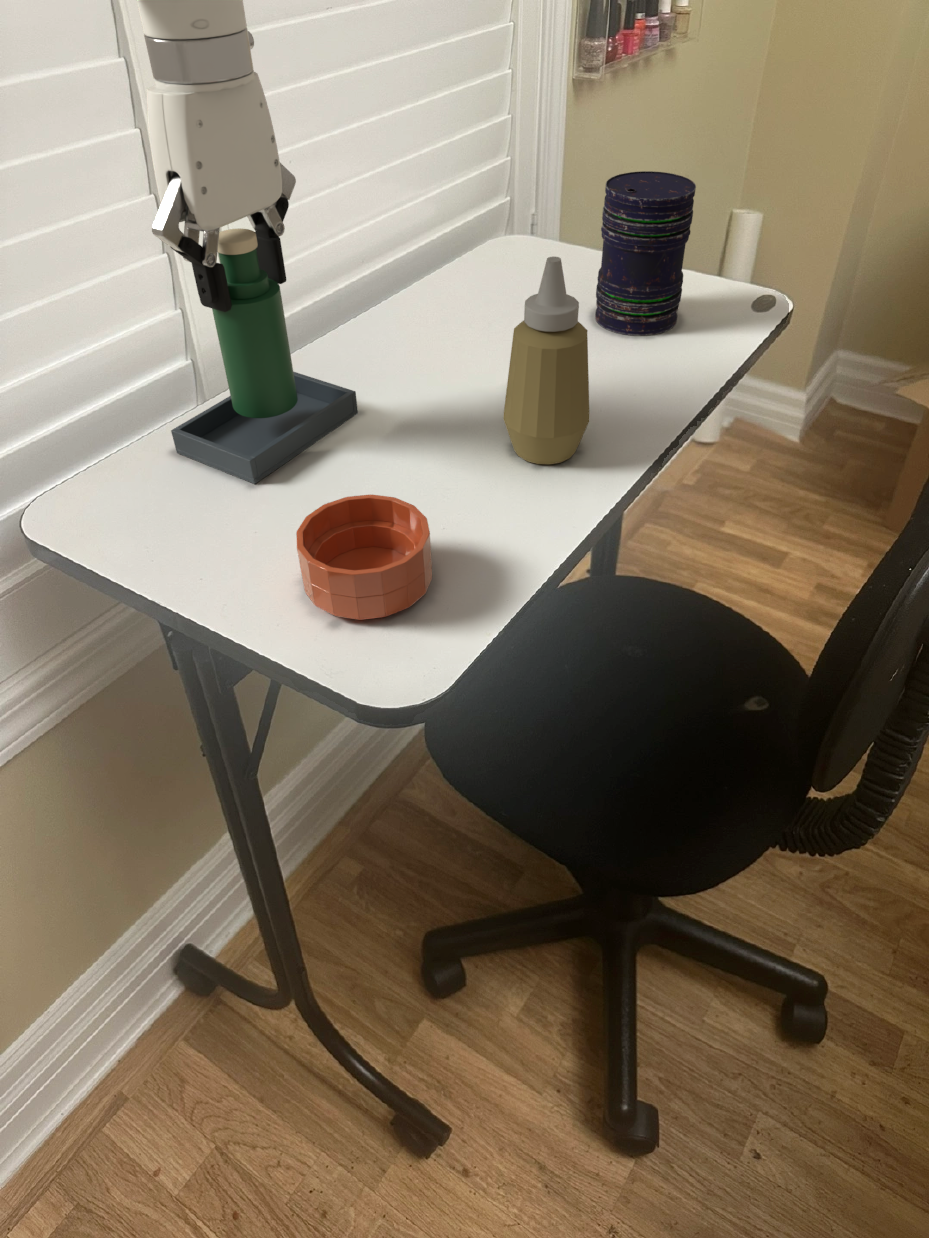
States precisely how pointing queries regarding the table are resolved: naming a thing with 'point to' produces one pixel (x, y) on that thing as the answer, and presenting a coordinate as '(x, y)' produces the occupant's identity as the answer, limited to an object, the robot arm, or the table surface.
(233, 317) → the bottle
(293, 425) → the tray
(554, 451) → the squeeze bottle
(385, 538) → the bowl
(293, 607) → the table surface
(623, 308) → the oil drum
